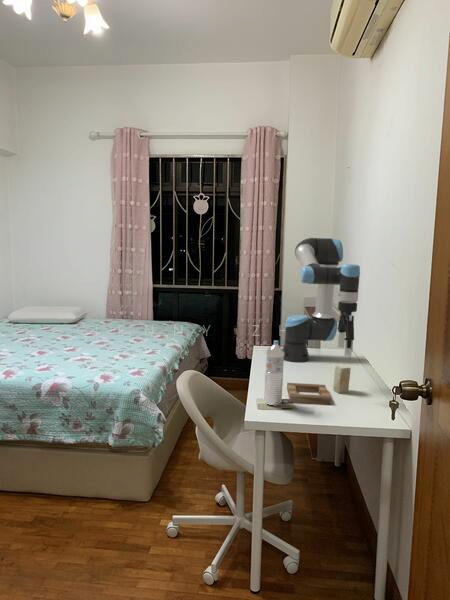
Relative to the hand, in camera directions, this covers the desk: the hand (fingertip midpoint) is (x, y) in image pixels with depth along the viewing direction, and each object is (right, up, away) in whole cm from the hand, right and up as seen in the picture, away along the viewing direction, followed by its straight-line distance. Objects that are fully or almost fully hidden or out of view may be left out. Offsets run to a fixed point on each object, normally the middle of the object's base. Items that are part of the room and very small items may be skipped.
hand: (344, 351), depth 181 cm
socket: (-16, -18, -4) cm, 24 cm away
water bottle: (-32, -19, -13) cm, 39 cm away
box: (-1, -18, +3) cm, 18 cm away
